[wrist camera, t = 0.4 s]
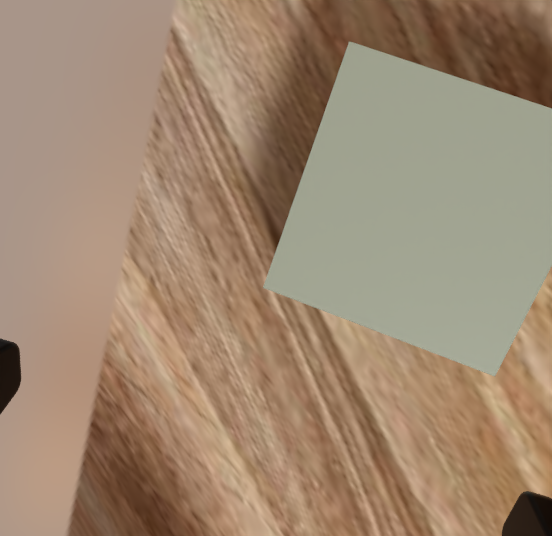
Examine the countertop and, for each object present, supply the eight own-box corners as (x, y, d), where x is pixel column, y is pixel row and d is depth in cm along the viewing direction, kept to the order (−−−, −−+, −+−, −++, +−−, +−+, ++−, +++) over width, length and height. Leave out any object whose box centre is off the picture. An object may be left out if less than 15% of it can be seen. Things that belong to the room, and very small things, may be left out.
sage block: (471, 337, 22) (494, 376, 18) (280, 265, 22) (263, 287, 18) (568, 136, 19) (620, 131, 15) (351, 63, 20) (349, 40, 16)
